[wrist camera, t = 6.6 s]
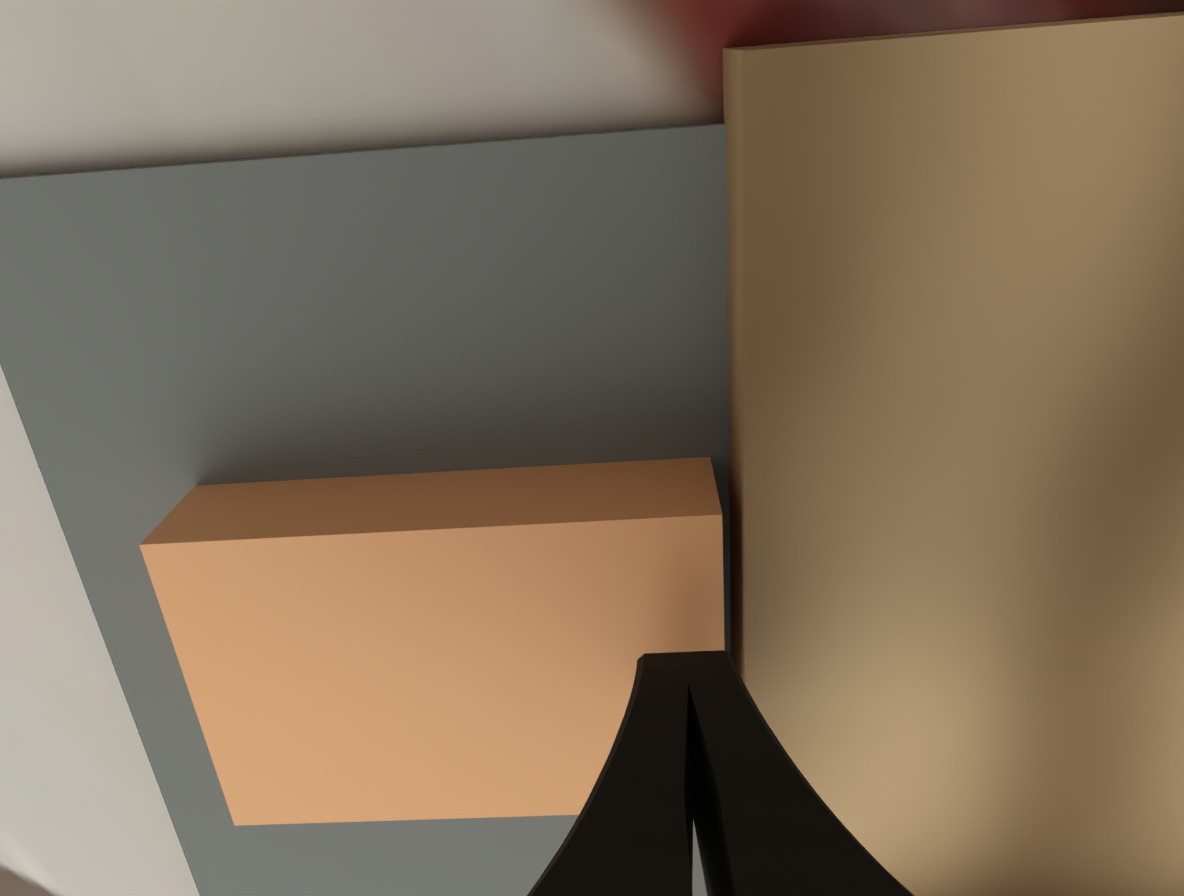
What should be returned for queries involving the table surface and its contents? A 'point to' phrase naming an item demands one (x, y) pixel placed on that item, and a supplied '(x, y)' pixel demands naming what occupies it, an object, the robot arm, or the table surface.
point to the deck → (966, 443)
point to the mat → (354, 393)
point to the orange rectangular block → (432, 630)
